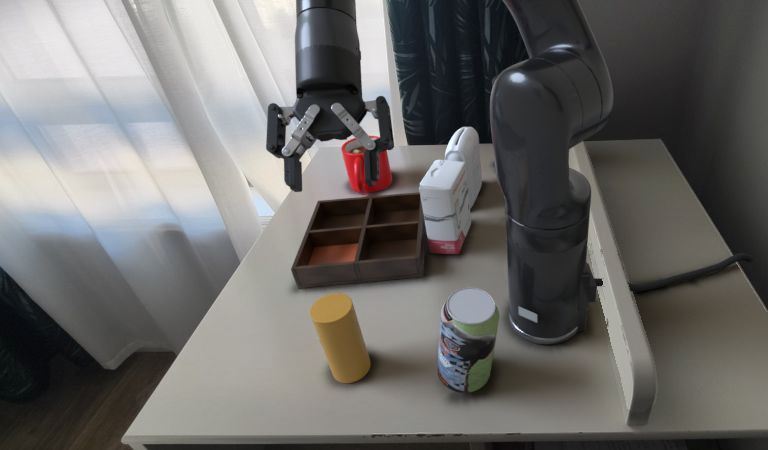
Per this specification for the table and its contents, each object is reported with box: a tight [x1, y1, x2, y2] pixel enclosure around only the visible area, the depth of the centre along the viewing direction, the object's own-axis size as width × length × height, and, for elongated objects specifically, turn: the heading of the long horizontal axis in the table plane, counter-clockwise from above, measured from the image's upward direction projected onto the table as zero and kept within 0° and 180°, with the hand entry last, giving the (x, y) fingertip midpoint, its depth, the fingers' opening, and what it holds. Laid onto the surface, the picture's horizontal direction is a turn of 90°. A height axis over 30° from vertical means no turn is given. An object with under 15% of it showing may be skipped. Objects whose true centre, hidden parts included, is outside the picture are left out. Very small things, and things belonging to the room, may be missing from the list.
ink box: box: [418, 159, 472, 255], centre depth 75 cm, size 9×5×12 cm, turn 168°
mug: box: [340, 135, 393, 197], centre depth 90 cm, size 8×12×8 cm, turn 5°
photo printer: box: [444, 126, 483, 210], centre depth 84 cm, size 10×4×12 cm, turn 169°
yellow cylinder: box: [309, 292, 372, 384], centre depth 55 cm, size 4×4×10 cm
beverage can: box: [437, 287, 500, 394], centre depth 53 cm, size 6×7×12 cm
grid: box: [290, 191, 427, 289], centre depth 76 cm, size 18×18×4 cm
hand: (333, 187), depth 57 cm, fingers open, 8 cm apart
